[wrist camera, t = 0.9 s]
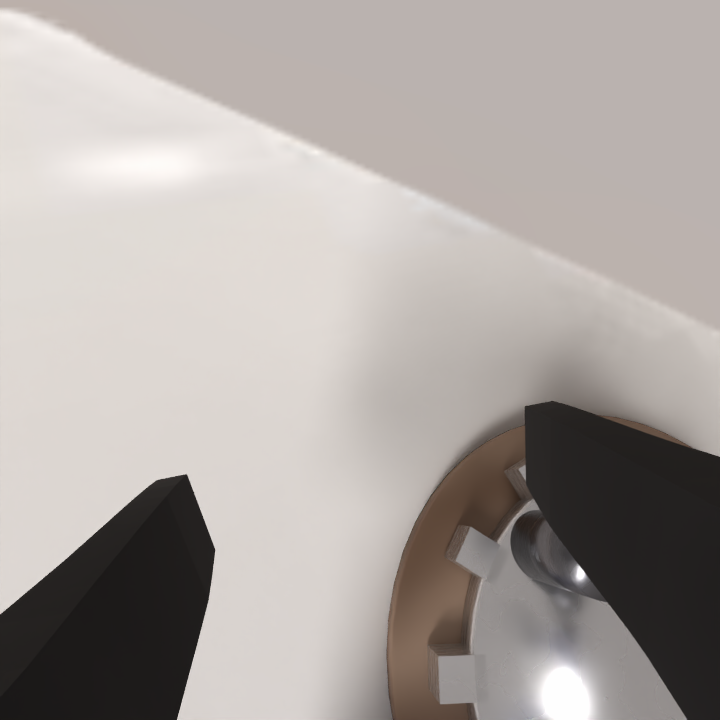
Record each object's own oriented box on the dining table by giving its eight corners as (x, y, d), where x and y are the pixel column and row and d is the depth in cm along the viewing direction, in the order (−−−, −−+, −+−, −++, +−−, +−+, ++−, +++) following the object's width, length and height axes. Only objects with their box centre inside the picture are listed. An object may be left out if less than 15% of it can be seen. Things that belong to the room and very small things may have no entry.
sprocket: (909, 832, 19) (1142, 956, 14) (524, 1073, 15) (650, 1385, 9) (703, 409, 24) (814, 383, 19) (380, 495, 20) (410, 493, 15)
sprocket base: (910, 837, 20) (1010, 891, 17) (479, 1109, 15) (521, 1246, 12) (690, 383, 26) (737, 369, 24) (336, 471, 22) (342, 466, 19)
